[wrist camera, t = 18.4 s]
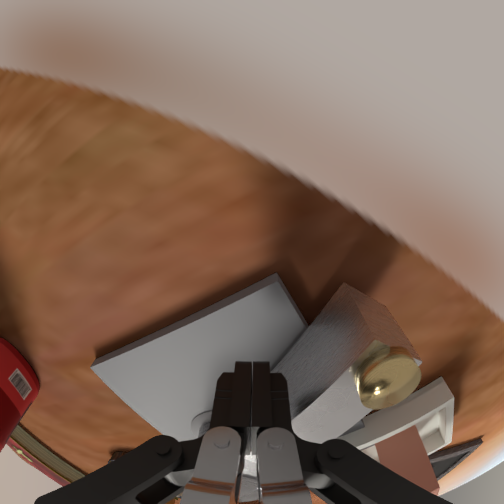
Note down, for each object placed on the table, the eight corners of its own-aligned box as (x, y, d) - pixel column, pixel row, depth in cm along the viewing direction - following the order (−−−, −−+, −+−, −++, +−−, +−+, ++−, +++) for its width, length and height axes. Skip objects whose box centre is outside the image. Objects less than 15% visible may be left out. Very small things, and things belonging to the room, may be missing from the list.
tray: (443, 426, 20) (451, 442, 18) (355, 467, 22) (358, 485, 20) (441, 376, 17) (454, 396, 15) (323, 433, 19) (327, 457, 17)
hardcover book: (80, 481, 34) (75, 495, 30) (2, 421, 29) (-6, 434, 25) (99, 481, 31) (93, 497, 27) (7, 411, 26) (-4, 426, 22)
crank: (245, 455, 19) (241, 510, 13) (190, 437, 18) (177, 495, 13) (398, 309, 13) (447, 379, 8) (328, 267, 13) (367, 343, 7)
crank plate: (373, 437, 20) (375, 446, 19) (237, 475, 23) (236, 483, 22) (276, 272, 14) (277, 282, 13) (95, 359, 17) (89, 368, 16)
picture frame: (328, 501, 28) (423, 483, 29) (329, 510, 26) (426, 490, 27) (383, 458, 23) (479, 435, 24) (386, 471, 21) (483, 444, 22)
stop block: (415, 435, 19) (437, 495, 12) (379, 451, 20) (396, 513, 13) (412, 419, 18) (439, 487, 11) (372, 438, 19) (391, 509, 11)
